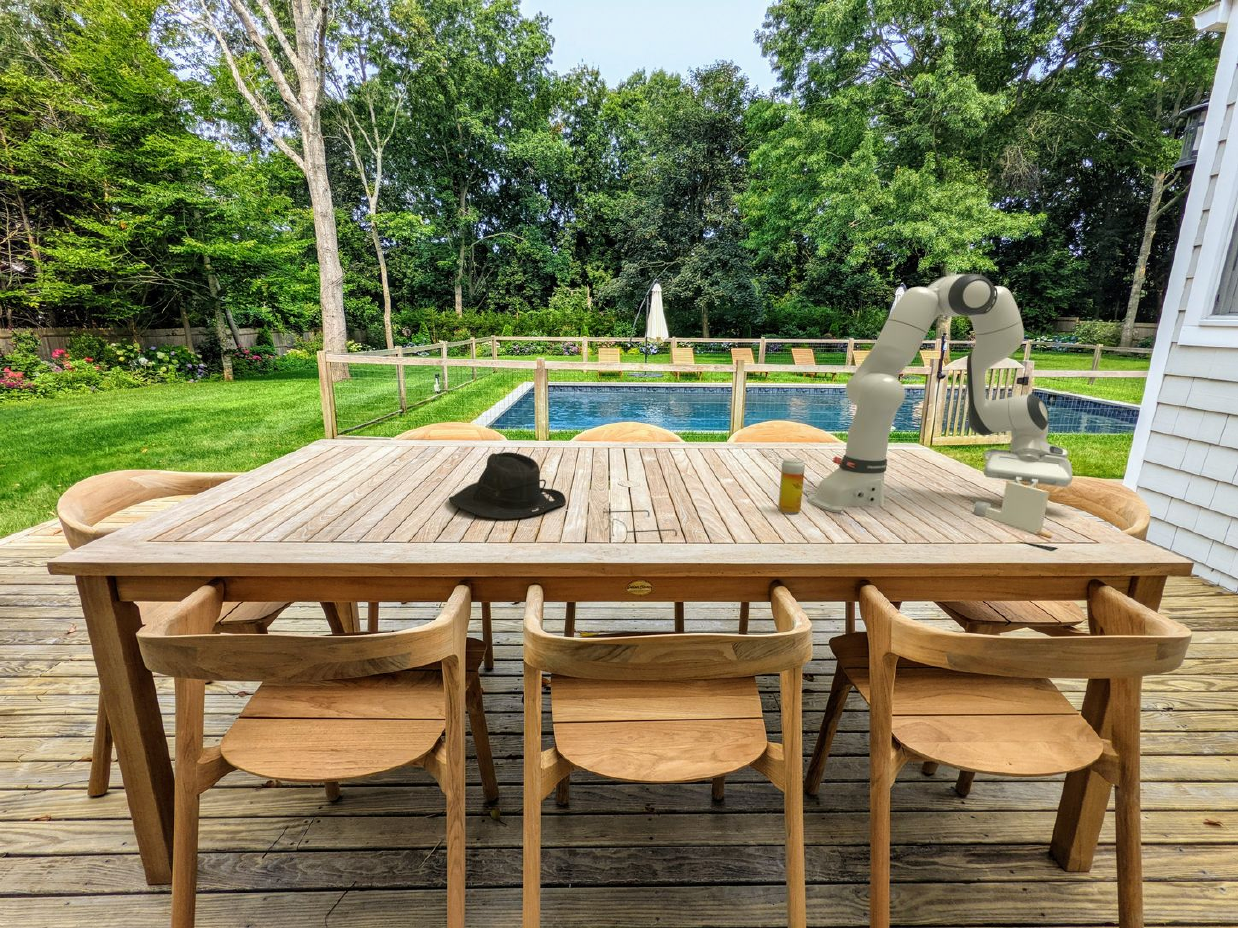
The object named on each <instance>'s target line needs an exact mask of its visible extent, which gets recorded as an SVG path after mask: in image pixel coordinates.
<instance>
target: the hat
mask: <svg viewBox="0 0 1238 928" xmlns="http://www.w3.org/2000/svg"><path fill="white" fill-rule="evenodd" d="M540 471H541V470H540V467H539V465H538V462H537V461H535V459H533V458H531V457H529V456H527V455H524V454H520V453H518V452H516V453H515V452H509V451H508V452H507V451H506V452H498V453H494V452H493V453H491V454H490V455H489V456H488V457H487V460H486V467H485V468H484V470H483V472H482V473H481V475H479V478H478V480H477V482H475V483H472V484H469V485H468V486H466V487H464V488H463V489H461V490H460V491H459V492H457V493H456V494H454V495H452V496H449V497H448V501H449V502H450V503H451V504H452V505H453V506H455V507H457V508H459V509H462V510H464V511H465V512H469V513H471V514H473V515H476V516H478V517H482V518H491V519H497V520H513V519H514V520H515V519H524V518H527V517H528V518H529V517H532V516H536V515H540V514H542V513H543V514H544V513H545V512H546V511H548V510H551V509H554V508H556V507H563V506H565V505H566V503H567V500H566V496H565V495H564V494H563V492H561V491H560V490H557V489H553V488H546V487H545V486H546V485H547V481H546V479H543V478H542V479H540V478H541V477H540V476H541V474H540V473H541V472H540ZM541 482H544V484H543V486H542V487H541ZM546 495H549V496H550V497H551V498H552V500H549V498H547V496H546Z"/></svg>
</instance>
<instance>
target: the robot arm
mask: <svg viewBox="0 0 1238 928" xmlns="http://www.w3.org/2000/svg"><path fill="white" fill-rule="evenodd" d="M1013 296H1014V295H1012V292H1011V291H1010V290H1009V289H1008V288H1007V287H1006V286H1003V285H1001V286H1000V285H995V286H994V284H993V283H992V281H990V280H989V278H987V277H986V276H984V275H981V274H978V273H966V274H963V273H962V274H960V273H959V274H958V273H957V274H951V275H948V276H943V277H938V278H937V279H935V280H933V281H932V282H930V283H929V284H928V285H926V287H925V286H915V287H910V288H909V289H907V290H906V291H905V292H904V293H903V294H902V296H901V297H900V298H899V300H898V302H896V304H895V306H894V307H893V309H892V310H891V312H890V314H889V316H888V318H887V320H886V322H885V323H884V325H883V327H882V329H881V331H880V334H879V335H878V336H877V340H876V341H875V343H874V345H873V347H872V348H871V350H870V351H869V353H868V354H867V355H866V357H865V358H864V360H863V361H862V362H861V363H860V365H859V367H858V368H857V370H856V371H855V372H854V374H853V375H852V376H851V377H850V378H849V379H848V381H847V382H846V385H845V393H846V396H847V398H848V399H849V401H850V402H851V403H852V404H853V405H854V406H856V409H855V414H854V417H853V420H852V422H851V425H850V426H849V427H848V429H847V438H846V448H845V454H844V455H842V456H843V457H842V458H841V457H838V456H833V458H832V462H833V464H836V465H838V468H837V469H835V470H834V471H832V472H831V473H830V474H829V475H827V476H825V478H823V479H821V480H820V481H819V484H818V486H817V489H816V494H814V495H809V496H808V497H807V502H809V503H810V504H812V505H814V506H816V507H818V508H820V509H823V510H825V511H828V512H832V513H840V514H841V513H842V510H843V509H844V508H845V507H883V506H885V504H886V498H885V472H886V471H887V466H888V458H887V452H888V447H889V446H888V445H889V437H890V433H891V429H892V426H893V424H894V421H895V418H896V415H897V413H898V410H899V408H900V407H901V406H902V405H903V403H904V401H905V397H906V391H905V388H904V387H905V386H904V385H903V384H902V383H901V381H900V380H898V379H897V378H898V377H899V376H900V374H902V372H903V371H904V370H905V368H906V367H908V365H910V364H911V363H912V362H913V360H914V359H915V358H916V355H917V353H918V352H919V350H920V348H921V346H922V344H923V343H924V340H925V338H926V336H927V335H928V333H929V330H930V329H931V326H932V324H933V322H934V321H935V320H937V318H938V317H940V316H941V317H943V316H947V317H953V318H954V317H964V316H966V317H967V318H968V319H969V320H970V322H971V324H972V328H973V333H974V339H975V341H974V342H975V343H974V346H973V349H972V350H970V352H968V355H967V358H966V380H967V381H966V382H967V383H966V385H967V396H968V397H967V398H968V416H967V417H968V419H967V420H968V425H969V428H970V429H971V431H973V432H975V433H976V434H979V435H980V436H982V437H983V436H990V435H993V434H997V433H1002V432H1003V433H1004V432H1010V433H1011V434H1010V435H1011V439H1010V442H1009V450H1007V449H997V448H990V449H988V450H986V451H985V452H984V460H985V461H986V462H985V464H984V469H983V475H984V476H985V477H986V478H991V479H999V480H1007V481H1012V482H1015V483H1018V484H1022V483H1029V486H1030V487H1033V488H1036V487H1037V485H1045V486H1054V487H1061V488H1067V487H1068V486H1069V485H1071V484H1072V481H1073V479H1074V478H1073V474H1074V473H1073V467H1072V463H1071V461H1070V460H1069V459H1068V458H1067V457H1068V455H1069V451H1068V450H1067V449H1066V448H1062V447H1060V446H1056V445H1053V444H1050V443H1048V440H1047V438H1048V435H1049V421H1050V420H1049V419H1050V418H1049V417H1050V416H1049V415H1050V414H1049V410H1048V409H1049V408H1048V406H1047V404H1046V402H1045V401H1044V400H1043V399H1041V398H1040V397H1038V396H1037V395H1035V394H1032V393H1029V394H1021V395H1016V396H1011V397H1005V398H1001V399H994V400H993V399H992V400H989V399H988V398H987V392H986V372H987V371H988V369H989V370H990V368H992V367H993V366H995V365H996V364H998V363H999V362H1001V361H1003V360H1005V359H1007V358H1009V357H1010V356H1011V355H1012V354H1014V353H1016V351H1017V350H1018V349H1019V348H1021V347H1020V346H1022V344H1023V342H1024V338H1025V330H1024V325H1023V321H1022V317H1021V313H1020V311H1019V308H1018V305H1017V302H1016V301H1015V298H1014V297H1013Z"/></svg>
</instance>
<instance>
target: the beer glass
mask: <svg viewBox="0 0 1238 928" xmlns="http://www.w3.org/2000/svg"><path fill="white" fill-rule="evenodd" d="M805 467H806V464H805V461H804V459H800V458H794V457H786V458H784V459H783V461H782V463H781V473H780V483H779V492H778V493H779V494H778V495H779V496H778V507H777V508H778V510H779V512H780V513H783V514H785V515H797V514H798V513H799V512H800V511H801V508H802V507H801V506H802V499H803V488H804V479H805V477H804V476H805V469H806V468H805Z"/></svg>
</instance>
